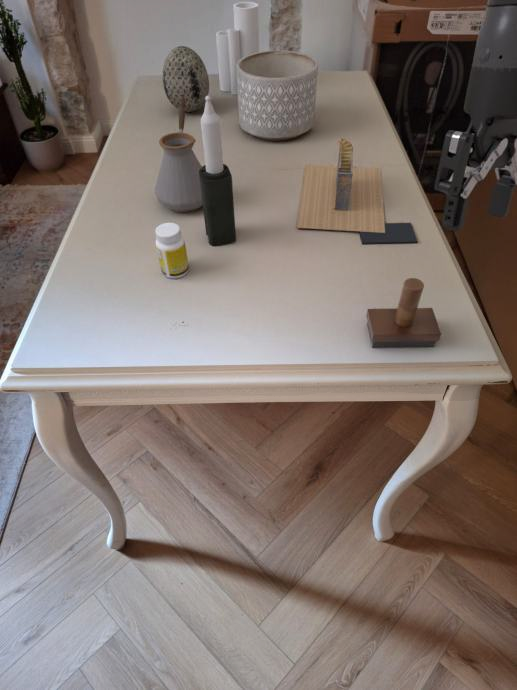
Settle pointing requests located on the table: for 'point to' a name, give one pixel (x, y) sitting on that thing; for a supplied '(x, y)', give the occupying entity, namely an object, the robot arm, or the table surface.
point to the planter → (276, 93)
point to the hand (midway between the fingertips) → (475, 222)
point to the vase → (237, 43)
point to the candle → (216, 183)
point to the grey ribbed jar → (179, 170)
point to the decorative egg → (185, 78)
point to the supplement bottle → (171, 250)
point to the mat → (390, 235)
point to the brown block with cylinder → (404, 321)
